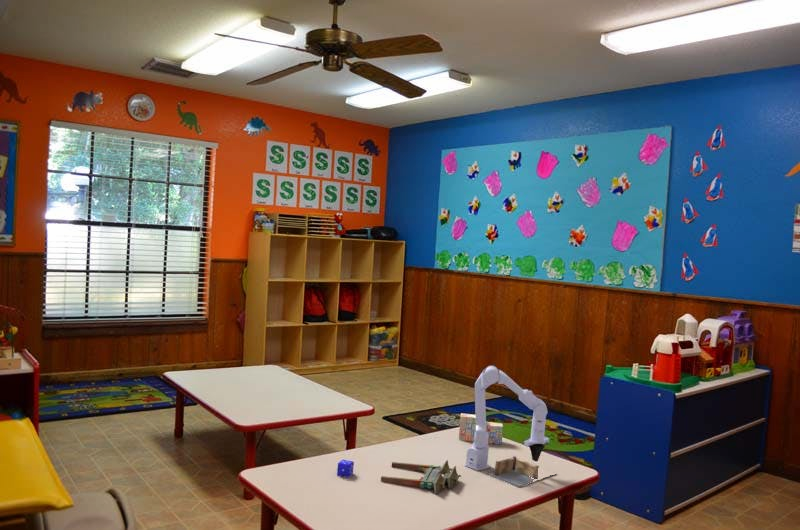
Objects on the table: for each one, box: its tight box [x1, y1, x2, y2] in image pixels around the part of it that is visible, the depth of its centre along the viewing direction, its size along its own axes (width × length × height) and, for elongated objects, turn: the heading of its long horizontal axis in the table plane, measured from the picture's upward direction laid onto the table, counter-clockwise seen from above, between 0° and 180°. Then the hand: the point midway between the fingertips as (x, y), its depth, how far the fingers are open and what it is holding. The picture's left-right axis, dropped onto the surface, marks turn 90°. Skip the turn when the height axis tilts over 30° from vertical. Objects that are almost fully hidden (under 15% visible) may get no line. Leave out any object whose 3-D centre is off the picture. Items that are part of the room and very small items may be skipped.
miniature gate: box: [380, 459, 462, 496], centre depth 246 cm, size 27×6×30 cm
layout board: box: [487, 470, 534, 488], centre depth 261 cm, size 28×16×1 cm, turn 134°
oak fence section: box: [515, 457, 540, 479], centre depth 259 cm, size 12×2×5 cm, turn 38°
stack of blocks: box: [458, 413, 504, 445], centre depth 305 cm, size 21×6×12 cm, turn 83°
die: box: [336, 459, 355, 478], centre depth 245 cm, size 5×5×5 cm
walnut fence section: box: [494, 455, 517, 476], centre depth 261 cm, size 14×2×6 cm, turn 134°
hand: (535, 460), depth 264 cm, fingers closed
